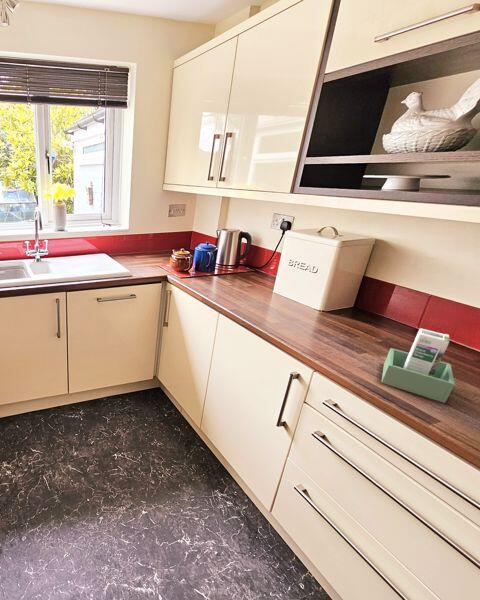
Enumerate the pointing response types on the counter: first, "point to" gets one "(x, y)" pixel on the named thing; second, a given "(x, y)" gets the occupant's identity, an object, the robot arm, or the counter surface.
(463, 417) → the counter surface
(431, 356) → the syrup box
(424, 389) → the bin
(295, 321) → the counter surface
